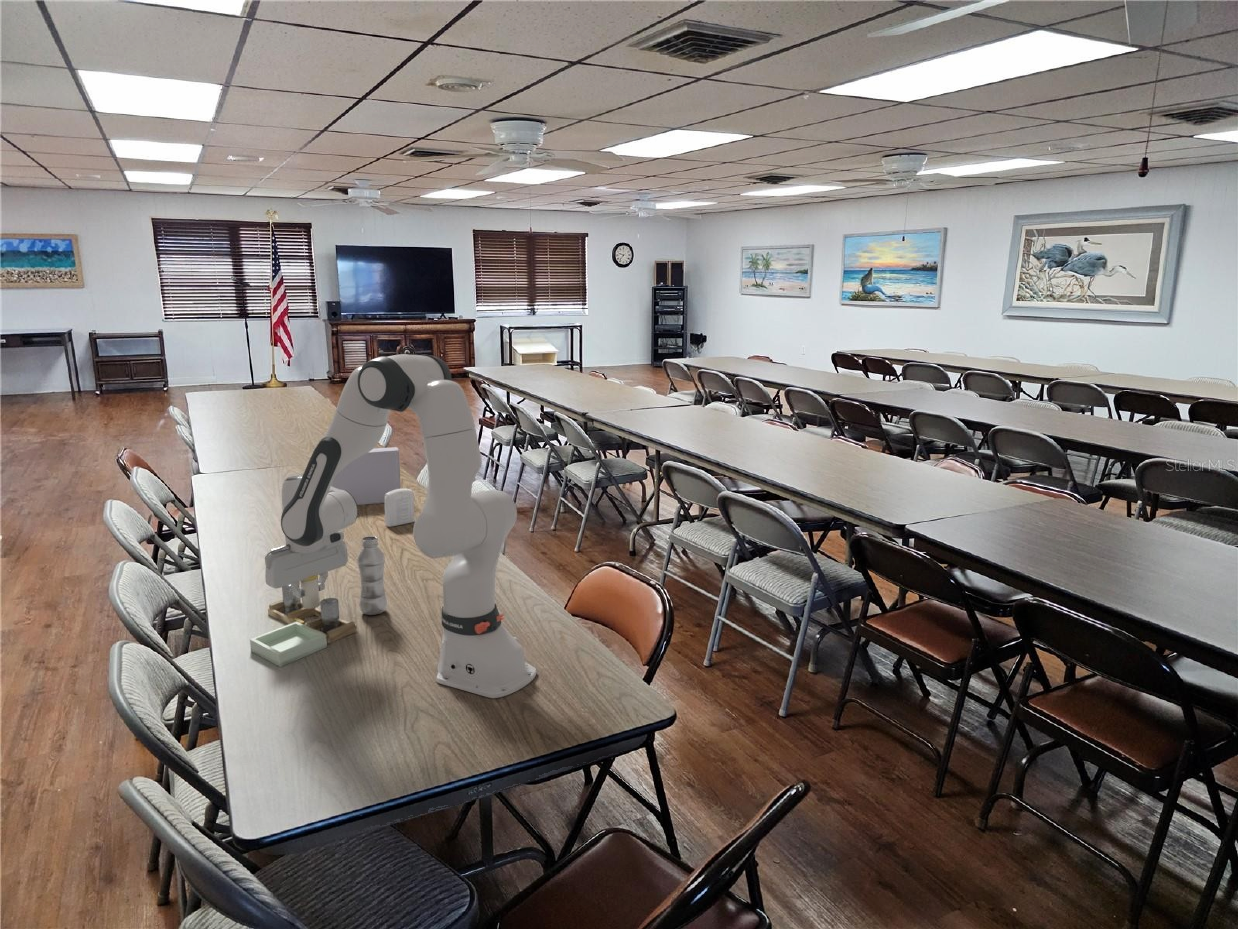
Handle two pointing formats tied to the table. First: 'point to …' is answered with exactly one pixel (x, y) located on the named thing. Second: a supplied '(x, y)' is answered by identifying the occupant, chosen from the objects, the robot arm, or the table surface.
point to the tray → (288, 643)
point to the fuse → (310, 592)
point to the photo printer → (399, 507)
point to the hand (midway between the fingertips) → (310, 593)
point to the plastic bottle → (371, 577)
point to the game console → (371, 476)
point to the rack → (315, 624)
